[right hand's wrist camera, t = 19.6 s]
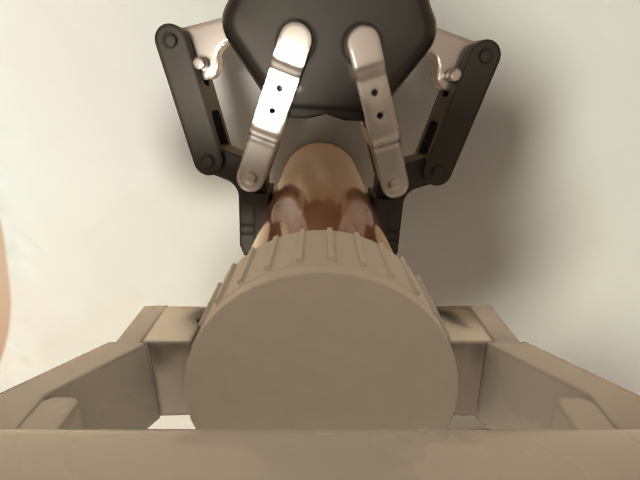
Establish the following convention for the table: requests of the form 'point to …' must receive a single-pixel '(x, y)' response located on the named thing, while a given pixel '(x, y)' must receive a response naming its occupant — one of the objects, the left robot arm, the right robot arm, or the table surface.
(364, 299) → the lid
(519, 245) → the table surface
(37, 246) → the table surface
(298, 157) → the tan tall cylinder
